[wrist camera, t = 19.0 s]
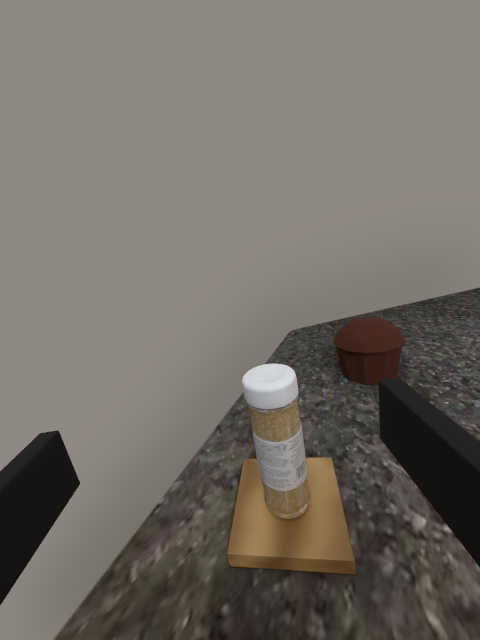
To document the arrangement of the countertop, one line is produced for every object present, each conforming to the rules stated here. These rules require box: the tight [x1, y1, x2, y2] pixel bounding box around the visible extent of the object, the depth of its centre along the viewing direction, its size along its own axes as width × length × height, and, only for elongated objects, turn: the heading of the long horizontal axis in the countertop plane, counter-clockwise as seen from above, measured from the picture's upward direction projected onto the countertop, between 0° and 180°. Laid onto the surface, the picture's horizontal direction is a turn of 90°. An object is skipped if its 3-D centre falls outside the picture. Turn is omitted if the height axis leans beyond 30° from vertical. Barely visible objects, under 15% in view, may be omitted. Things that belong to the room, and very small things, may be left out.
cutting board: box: [227, 458, 356, 574], centre depth 26 cm, size 10×10×2 cm
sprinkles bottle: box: [242, 364, 311, 519], centre depth 24 cm, size 5×5×14 cm
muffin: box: [333, 317, 406, 385], centre depth 46 cm, size 12×11×10 cm
